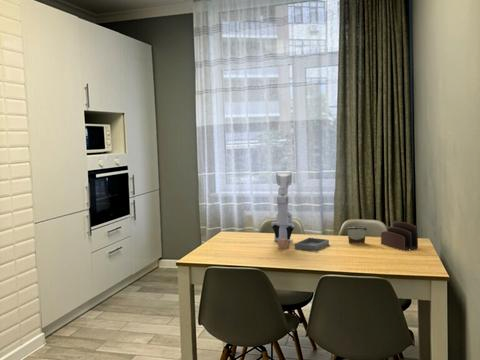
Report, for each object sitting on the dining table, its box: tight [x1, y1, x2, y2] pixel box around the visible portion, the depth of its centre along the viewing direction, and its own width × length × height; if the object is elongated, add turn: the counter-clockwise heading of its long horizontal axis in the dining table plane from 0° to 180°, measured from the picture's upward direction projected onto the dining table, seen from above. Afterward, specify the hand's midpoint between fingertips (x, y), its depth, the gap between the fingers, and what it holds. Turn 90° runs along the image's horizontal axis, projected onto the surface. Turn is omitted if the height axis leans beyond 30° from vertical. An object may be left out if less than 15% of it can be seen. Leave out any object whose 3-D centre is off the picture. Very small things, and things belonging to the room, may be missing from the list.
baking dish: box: [294, 237, 330, 252], centre depth 263 cm, size 13×19×3 cm
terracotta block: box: [277, 238, 289, 249], centre depth 263 cm, size 4×4×5 cm
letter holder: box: [380, 220, 419, 251], centre depth 259 cm, size 10×20×14 cm, turn 22°
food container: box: [345, 224, 368, 244], centre depth 272 cm, size 12×6×10 cm, turn 84°
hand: (283, 238), depth 262 cm, fingers open, 7 cm apart
